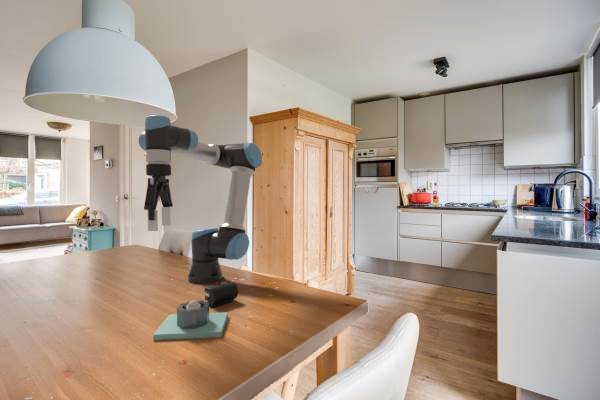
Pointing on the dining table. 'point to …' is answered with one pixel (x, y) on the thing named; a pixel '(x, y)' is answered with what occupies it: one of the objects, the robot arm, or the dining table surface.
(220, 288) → the end cap
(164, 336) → the post stand
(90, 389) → the dining table surface
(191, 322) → the collar
